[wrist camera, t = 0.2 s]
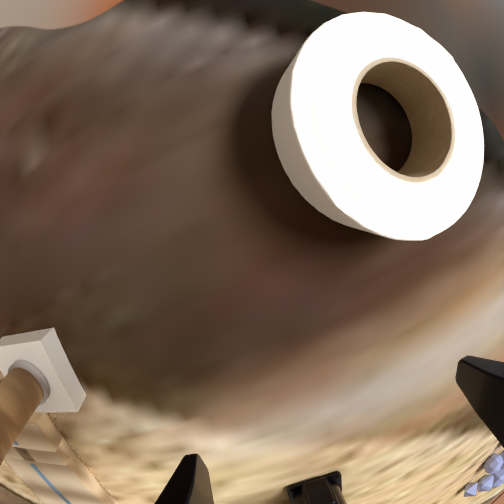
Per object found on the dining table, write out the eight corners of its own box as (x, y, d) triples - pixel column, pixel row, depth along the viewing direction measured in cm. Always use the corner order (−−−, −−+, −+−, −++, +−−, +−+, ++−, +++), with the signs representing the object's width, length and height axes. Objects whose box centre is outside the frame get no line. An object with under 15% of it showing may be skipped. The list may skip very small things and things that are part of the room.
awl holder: (86, 395, 22) (78, 412, 20) (34, 398, 22) (24, 412, 19) (53, 327, 21) (40, 340, 18) (3, 336, 20) (-11, 347, 18)
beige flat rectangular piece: (128, 512, 26) (125, 526, 24) (62, 505, 25) (58, 516, 23) (44, 409, 22) (35, 424, 19) (-18, 406, 21) (-28, 418, 19)
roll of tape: (460, 115, 21) (501, 106, 16) (401, 263, 23) (442, 281, 18) (323, 10, 18) (348, -25, 13) (231, 164, 20) (236, 155, 15)
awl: (67, 385, 22) (7, 487, 9) (36, 387, 21) (-26, 476, 9) (47, 345, 21) (-34, 439, 8) (16, 349, 20) (-61, 430, 8)
